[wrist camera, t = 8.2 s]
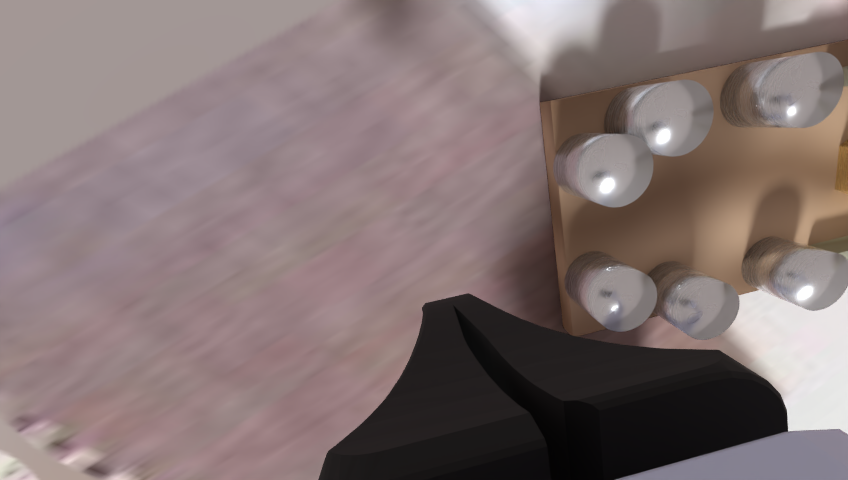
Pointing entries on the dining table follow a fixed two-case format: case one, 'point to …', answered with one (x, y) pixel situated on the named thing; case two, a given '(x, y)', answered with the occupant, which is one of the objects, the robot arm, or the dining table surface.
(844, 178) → the nut
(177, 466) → the dining table surface
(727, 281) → the tan tray
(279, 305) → the dining table surface
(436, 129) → the dining table surface
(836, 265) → the spacers
